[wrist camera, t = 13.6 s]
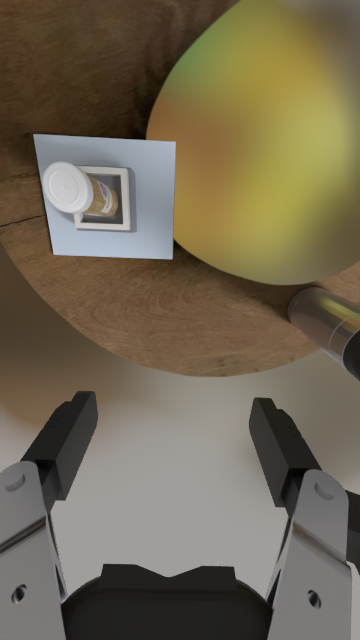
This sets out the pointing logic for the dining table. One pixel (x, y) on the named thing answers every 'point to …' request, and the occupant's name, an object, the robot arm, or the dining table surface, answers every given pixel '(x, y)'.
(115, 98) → the dining table surface
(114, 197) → the sprinkles bottle
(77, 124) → the dining table surface
